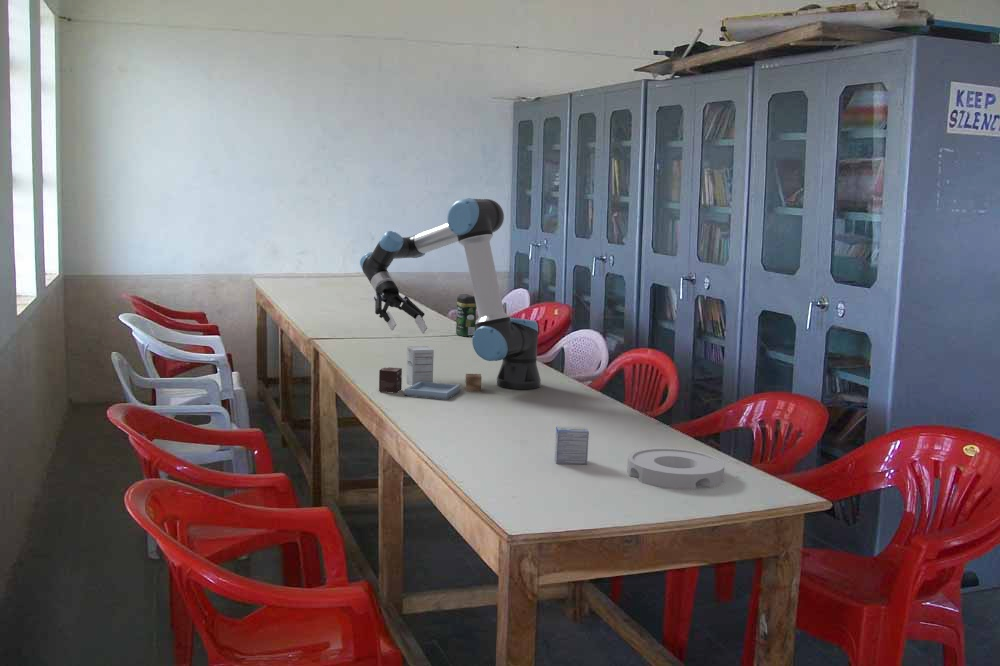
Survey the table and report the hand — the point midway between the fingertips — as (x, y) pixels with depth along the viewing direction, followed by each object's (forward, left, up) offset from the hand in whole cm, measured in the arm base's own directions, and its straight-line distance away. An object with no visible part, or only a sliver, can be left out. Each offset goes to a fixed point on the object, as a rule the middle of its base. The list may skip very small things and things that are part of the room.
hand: (409, 329), depth 338 cm
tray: (-15, +17, -18) cm, 29 cm away
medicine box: (-73, +78, -18) cm, 108 cm away
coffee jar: (+13, -107, -18) cm, 109 cm away
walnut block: (-25, +5, -18) cm, 31 cm away
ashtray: (-99, +79, -18) cm, 128 cm away
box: (-1, +19, -18) cm, 26 cm away
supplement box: (-6, +5, -18) cm, 20 cm away
